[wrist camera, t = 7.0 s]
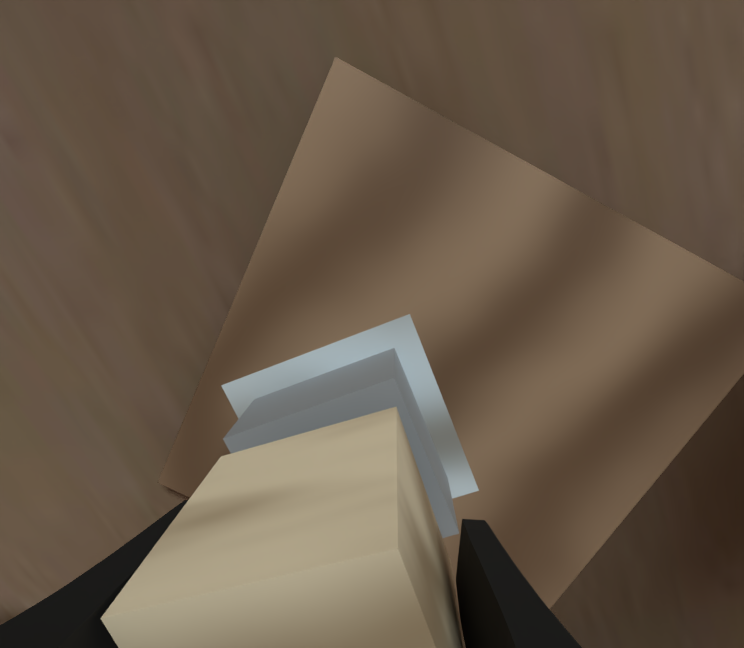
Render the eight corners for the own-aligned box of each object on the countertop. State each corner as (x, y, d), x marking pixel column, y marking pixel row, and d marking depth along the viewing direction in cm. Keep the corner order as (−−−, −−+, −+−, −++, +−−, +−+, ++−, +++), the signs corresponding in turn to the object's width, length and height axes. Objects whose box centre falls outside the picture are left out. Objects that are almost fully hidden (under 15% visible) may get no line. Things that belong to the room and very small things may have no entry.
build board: (769, 304, 15) (797, 310, 14) (511, 626, 19) (518, 648, 18) (339, 68, 14) (335, 56, 13) (169, 468, 18) (156, 483, 17)
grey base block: (447, 477, 16) (459, 533, 13) (315, 519, 17) (299, 579, 14) (394, 347, 15) (394, 377, 12) (254, 399, 16) (222, 438, 13)
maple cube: (450, 561, 12) (486, 780, 7) (288, 598, 13) (225, 820, 8) (396, 406, 11) (397, 548, 6) (220, 456, 12) (100, 618, 7)
